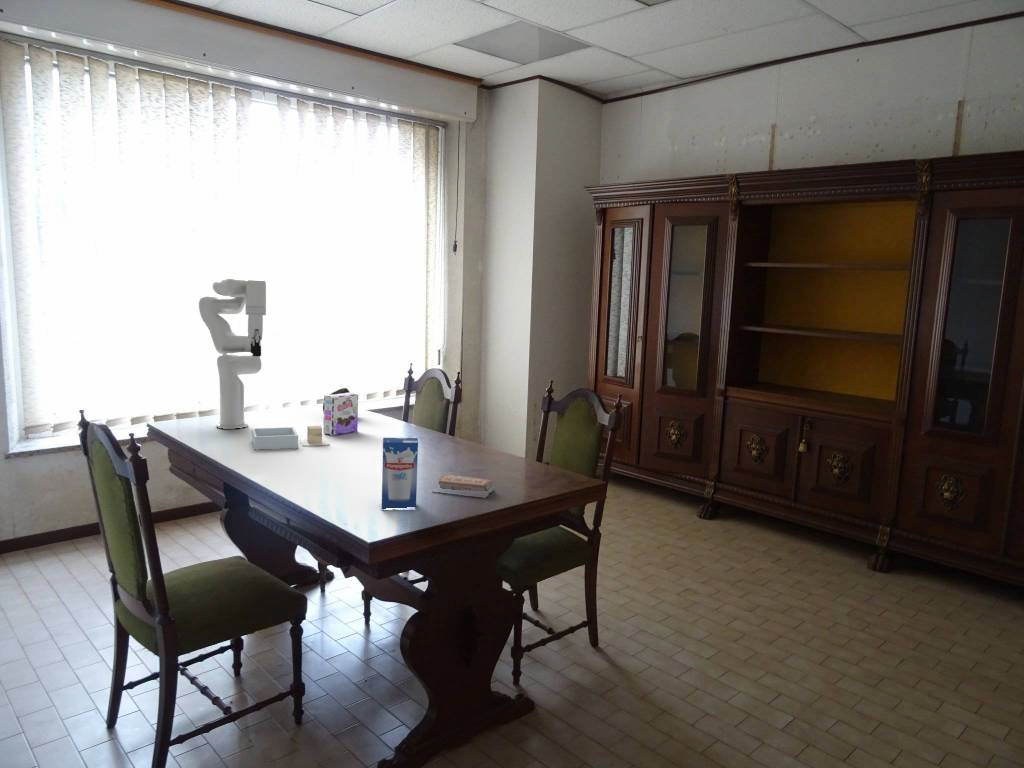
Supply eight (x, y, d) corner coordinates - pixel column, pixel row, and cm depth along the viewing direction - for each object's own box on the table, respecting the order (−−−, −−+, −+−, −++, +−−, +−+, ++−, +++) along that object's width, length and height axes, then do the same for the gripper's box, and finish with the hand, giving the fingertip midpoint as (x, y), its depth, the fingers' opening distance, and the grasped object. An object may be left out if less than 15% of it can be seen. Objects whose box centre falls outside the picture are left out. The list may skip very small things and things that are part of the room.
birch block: (307, 440, 291) (307, 425, 290) (320, 440, 293) (320, 425, 292) (308, 443, 286) (308, 428, 286) (322, 443, 288) (322, 428, 288)
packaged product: (495, 477, 236) (486, 485, 226) (494, 491, 237) (485, 500, 227) (441, 471, 240) (431, 478, 231) (441, 485, 241) (430, 493, 231)
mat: (300, 440, 292) (300, 439, 292) (325, 439, 296) (325, 438, 296) (303, 446, 283) (303, 445, 283) (329, 445, 287) (329, 444, 287)
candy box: (332, 436, 303) (332, 396, 301) (322, 434, 307) (323, 394, 304) (358, 431, 314) (358, 393, 312) (348, 429, 317) (349, 391, 315)
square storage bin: (252, 441, 288) (252, 428, 287) (293, 439, 294) (293, 427, 293) (254, 450, 274) (254, 437, 273) (298, 448, 280) (298, 435, 279)
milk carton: (415, 503, 219) (417, 437, 216) (416, 510, 213) (418, 442, 210) (381, 503, 217) (383, 437, 215) (381, 510, 211) (382, 442, 208)
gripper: (244, 309, 293) (244, 352, 295) (246, 312, 277) (246, 357, 279) (264, 310, 296) (264, 352, 298) (267, 312, 280) (267, 357, 282)
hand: (255, 354), depth 289 cm, fingers open, 9 cm apart
